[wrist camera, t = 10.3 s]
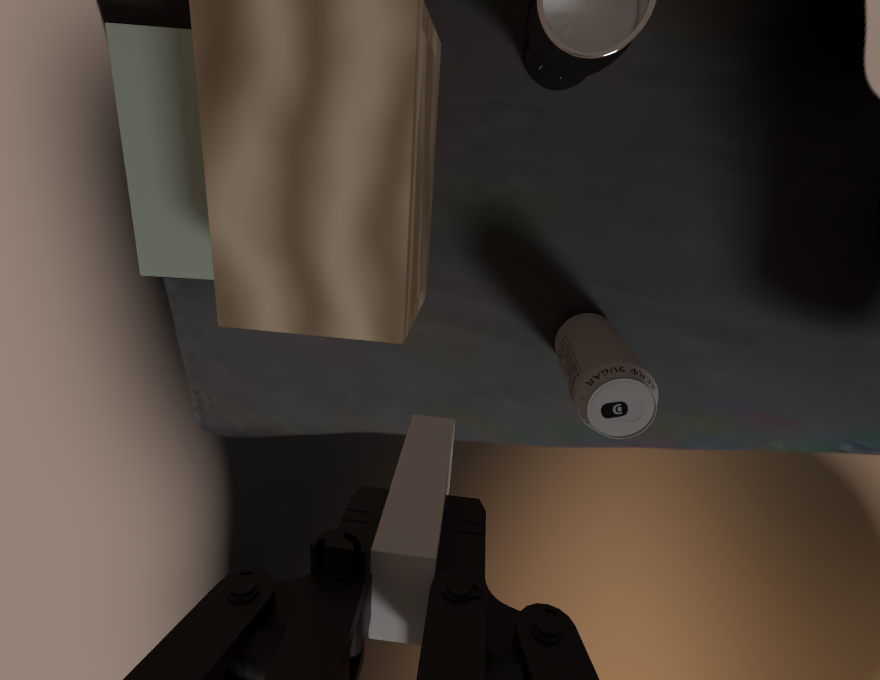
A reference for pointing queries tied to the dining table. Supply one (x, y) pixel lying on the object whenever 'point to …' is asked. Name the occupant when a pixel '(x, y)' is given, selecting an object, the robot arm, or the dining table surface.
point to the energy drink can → (605, 377)
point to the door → (162, 148)
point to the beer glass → (579, 37)
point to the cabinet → (318, 161)
